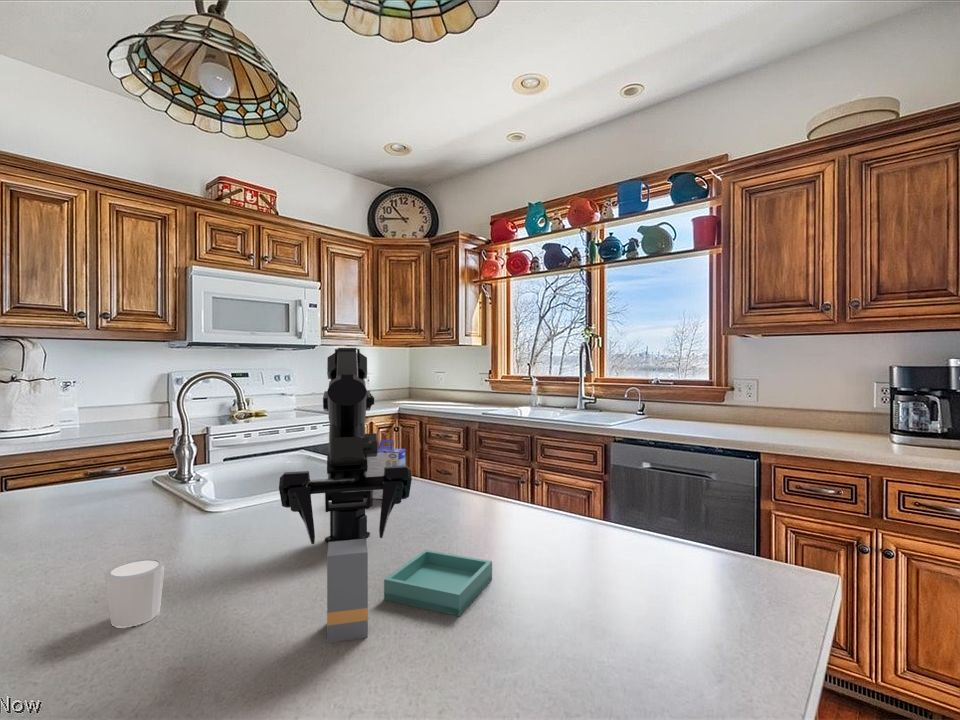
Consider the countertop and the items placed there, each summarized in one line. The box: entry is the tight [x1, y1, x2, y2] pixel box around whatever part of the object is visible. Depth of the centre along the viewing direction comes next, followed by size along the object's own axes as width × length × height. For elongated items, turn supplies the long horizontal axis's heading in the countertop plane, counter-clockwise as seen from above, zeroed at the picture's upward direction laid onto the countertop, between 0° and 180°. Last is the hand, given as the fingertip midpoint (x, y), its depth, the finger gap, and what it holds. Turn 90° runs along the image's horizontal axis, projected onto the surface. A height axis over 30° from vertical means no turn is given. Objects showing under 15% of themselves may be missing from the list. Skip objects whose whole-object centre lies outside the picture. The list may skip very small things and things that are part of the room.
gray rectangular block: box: [326, 538, 369, 644], centre depth 66 cm, size 5×5×11 cm
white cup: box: [104, 558, 166, 627], centre depth 69 cm, size 7×7×7 cm
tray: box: [383, 549, 493, 617], centre depth 78 cm, size 12×12×3 cm
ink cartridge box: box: [367, 439, 407, 500], centre depth 129 cm, size 10×6×14 cm, turn 78°
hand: (347, 539), depth 69 cm, fingers open, 9 cm apart
